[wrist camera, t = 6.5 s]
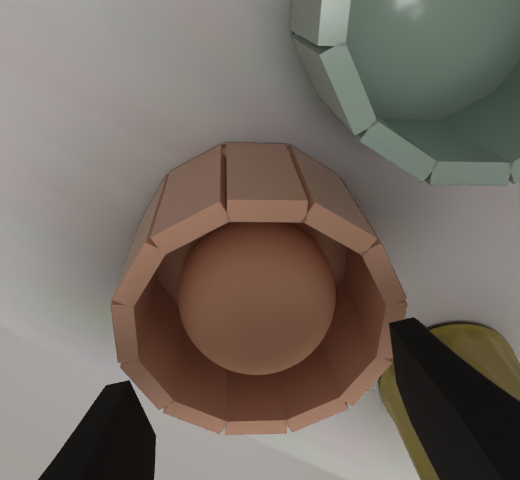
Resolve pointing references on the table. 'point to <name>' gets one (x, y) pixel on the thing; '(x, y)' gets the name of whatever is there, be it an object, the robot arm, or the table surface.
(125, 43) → the table surface
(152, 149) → the table surface
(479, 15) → the green faceted bowl
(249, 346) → the ball
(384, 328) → the salmon slatted bowl
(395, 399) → the vase
